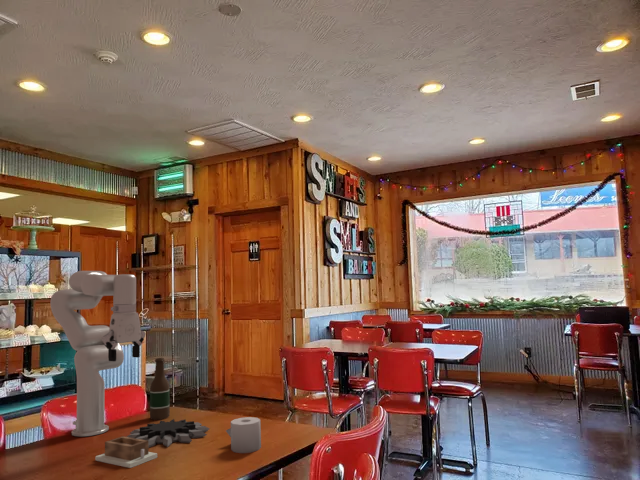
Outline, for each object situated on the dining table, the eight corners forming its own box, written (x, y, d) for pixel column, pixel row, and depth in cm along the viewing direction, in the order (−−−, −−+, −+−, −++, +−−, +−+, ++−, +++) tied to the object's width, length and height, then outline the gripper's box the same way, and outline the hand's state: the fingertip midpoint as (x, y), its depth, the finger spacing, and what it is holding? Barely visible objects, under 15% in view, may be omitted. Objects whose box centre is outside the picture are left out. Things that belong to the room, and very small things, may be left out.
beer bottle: (173, 415, 206) (173, 357, 208) (161, 420, 199) (161, 359, 201) (158, 414, 208) (157, 356, 211) (145, 419, 201) (145, 359, 204)
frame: (104, 455, 153) (104, 441, 154) (122, 449, 159) (122, 436, 159) (130, 460, 147) (130, 446, 148) (148, 454, 153) (148, 440, 153)
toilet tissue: (233, 441, 167) (232, 415, 168) (266, 445, 161) (265, 418, 162) (215, 449, 159) (215, 422, 160) (250, 454, 153) (249, 425, 154)
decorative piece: (151, 414, 194) (223, 415, 188) (151, 425, 194) (224, 426, 188) (103, 437, 165) (186, 439, 159) (103, 449, 164) (186, 452, 158)
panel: (95, 460, 153) (95, 447, 153) (122, 450, 161) (123, 439, 162) (130, 468, 145) (130, 454, 145) (157, 457, 153) (157, 445, 154)
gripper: (110, 310, 165) (109, 363, 163) (151, 308, 180) (151, 356, 178) (95, 311, 169) (95, 362, 167) (137, 308, 184) (137, 355, 182)
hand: (124, 359), depth 173 cm, fingers open, 9 cm apart
